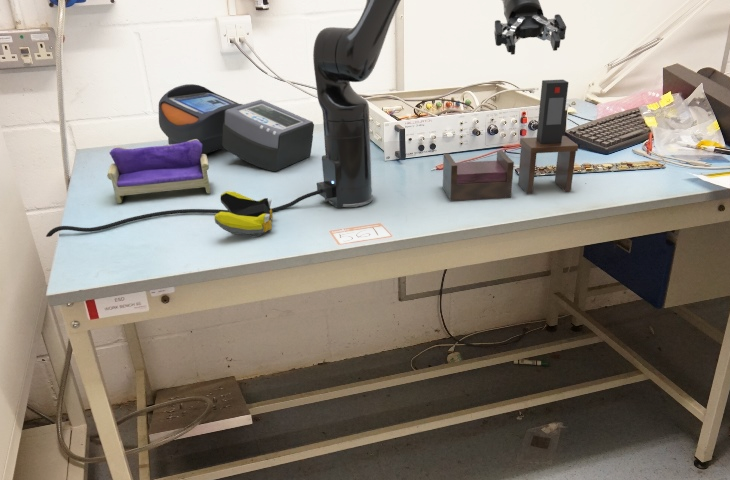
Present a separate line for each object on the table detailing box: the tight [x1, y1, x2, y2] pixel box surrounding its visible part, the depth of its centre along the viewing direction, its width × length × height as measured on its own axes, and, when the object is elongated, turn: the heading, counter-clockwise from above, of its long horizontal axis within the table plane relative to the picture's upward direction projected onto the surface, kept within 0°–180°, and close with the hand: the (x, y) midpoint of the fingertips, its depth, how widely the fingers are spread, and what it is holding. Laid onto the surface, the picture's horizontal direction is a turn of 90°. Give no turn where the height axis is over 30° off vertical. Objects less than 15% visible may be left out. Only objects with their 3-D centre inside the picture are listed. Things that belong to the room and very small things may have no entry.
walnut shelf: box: [517, 135, 579, 195], centre depth 140 cm, size 10×8×10 cm
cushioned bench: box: [442, 150, 515, 202], centre depth 139 cm, size 13×9×8 cm
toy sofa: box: [106, 139, 212, 204], centre depth 142 cm, size 21×9×10 cm, turn 105°
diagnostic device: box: [158, 83, 315, 172], centre depth 167 cm, size 38×17×22 cm
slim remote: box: [536, 79, 569, 144], centre depth 134 cm, size 4×3×12 cm
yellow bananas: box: [214, 190, 274, 238], centre depth 125 cm, size 15×6×10 cm
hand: (534, 48), depth 131 cm, fingers open, 8 cm apart
